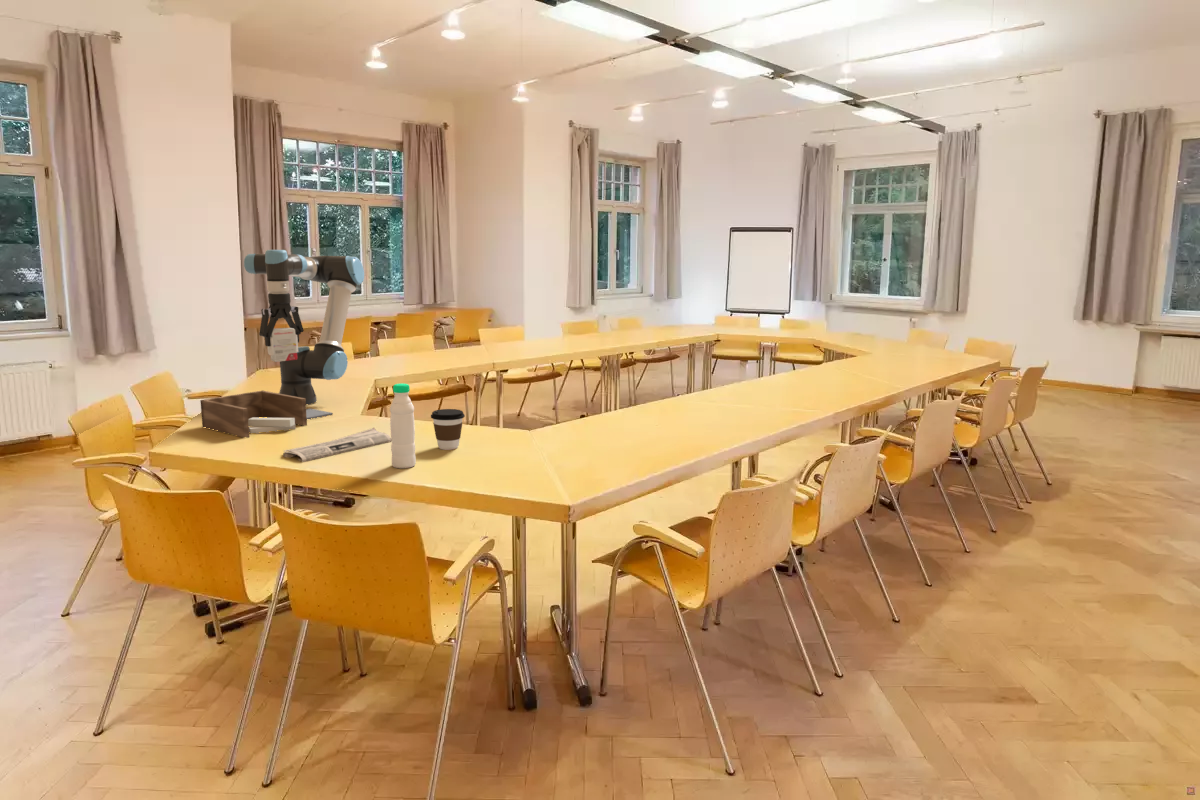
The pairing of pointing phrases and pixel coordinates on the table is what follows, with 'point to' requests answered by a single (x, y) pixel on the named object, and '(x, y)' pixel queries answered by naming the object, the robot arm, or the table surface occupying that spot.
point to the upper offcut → (271, 422)
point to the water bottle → (402, 428)
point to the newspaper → (339, 445)
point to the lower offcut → (268, 428)
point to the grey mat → (316, 413)
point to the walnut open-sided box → (250, 410)
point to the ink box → (284, 344)
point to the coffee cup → (447, 427)
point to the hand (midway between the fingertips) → (283, 353)
